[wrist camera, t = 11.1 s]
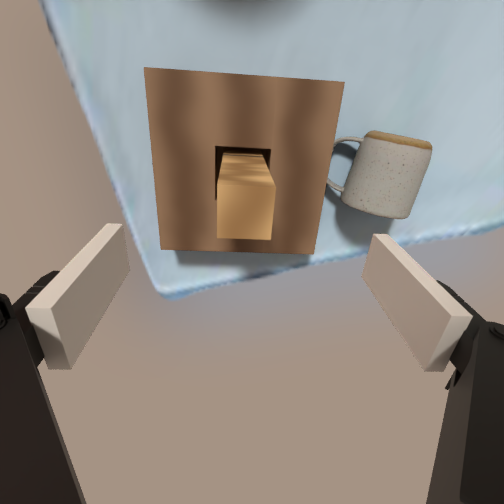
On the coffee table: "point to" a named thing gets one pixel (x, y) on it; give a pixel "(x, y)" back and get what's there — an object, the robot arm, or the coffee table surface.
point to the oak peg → (244, 196)
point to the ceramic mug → (385, 174)
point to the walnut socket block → (241, 137)
